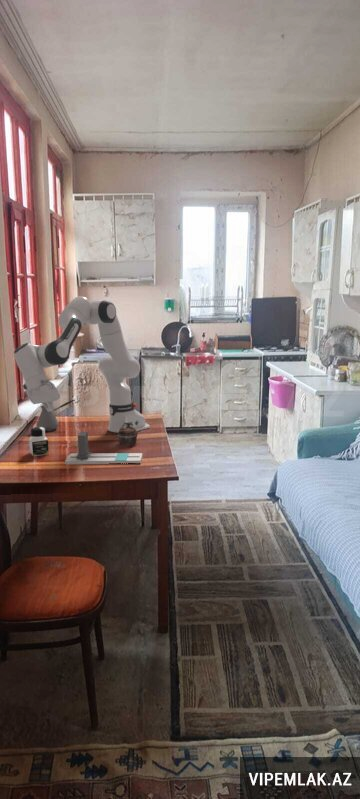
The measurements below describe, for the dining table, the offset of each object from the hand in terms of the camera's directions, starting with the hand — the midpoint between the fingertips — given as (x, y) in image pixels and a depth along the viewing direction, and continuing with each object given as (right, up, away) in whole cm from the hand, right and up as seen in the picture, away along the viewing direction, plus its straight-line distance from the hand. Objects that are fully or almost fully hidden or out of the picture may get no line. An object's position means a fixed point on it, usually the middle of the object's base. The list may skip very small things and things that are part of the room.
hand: (51, 411), depth 210 cm
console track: (+22, -21, +4) cm, 31 cm away
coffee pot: (-12, -11, +58) cm, 60 cm away
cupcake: (+30, -16, +29) cm, 45 cm away
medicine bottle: (-9, -20, +15) cm, 26 cm away
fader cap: (+13, -19, +4) cm, 24 cm away
